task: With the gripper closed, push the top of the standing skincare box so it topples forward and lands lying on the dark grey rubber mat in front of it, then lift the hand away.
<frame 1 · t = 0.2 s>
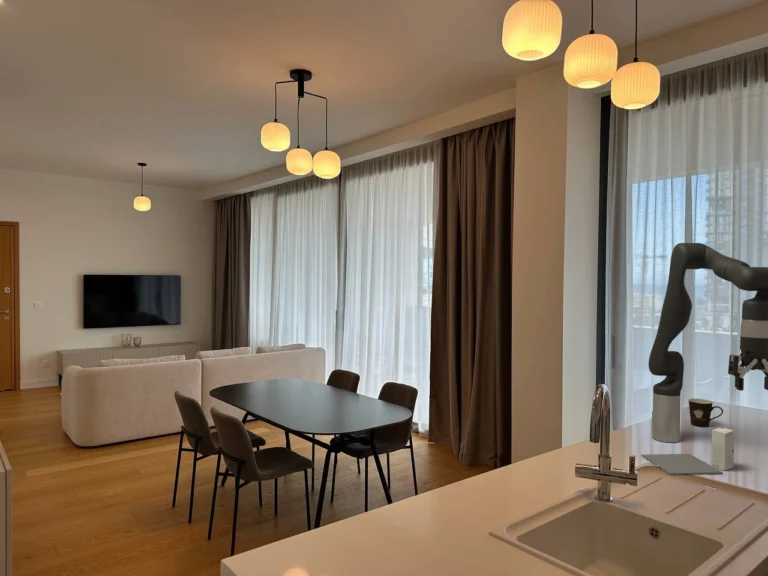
hand: (753, 389, 160), 28 cm above the worktop, tool pointing down, fingers open, 8 cm apart
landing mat: (680, 464, 178), on the worktop
coffee mug: (703, 426, 222), on the worktop
skincare box: (722, 467, 176), on the worktop
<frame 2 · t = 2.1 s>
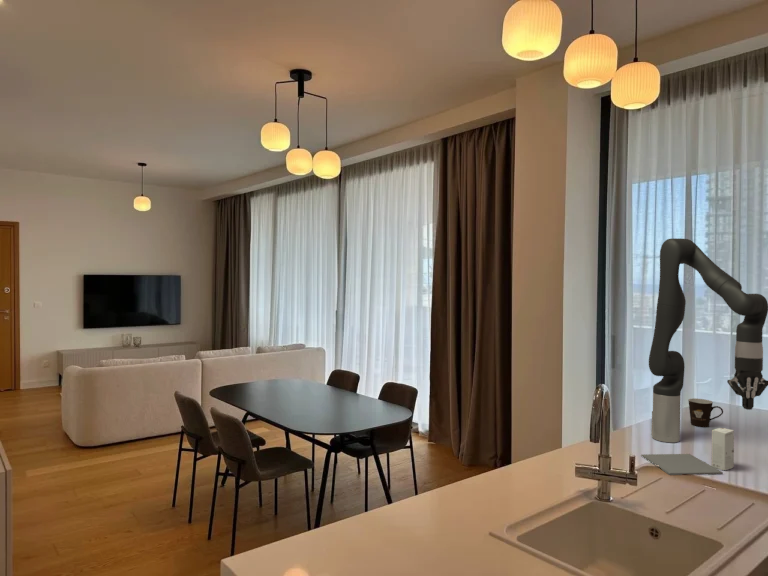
hand: (747, 408, 175), 19 cm above the worktop, tool pointing down, fingers closed
nothing on the worktop moved.
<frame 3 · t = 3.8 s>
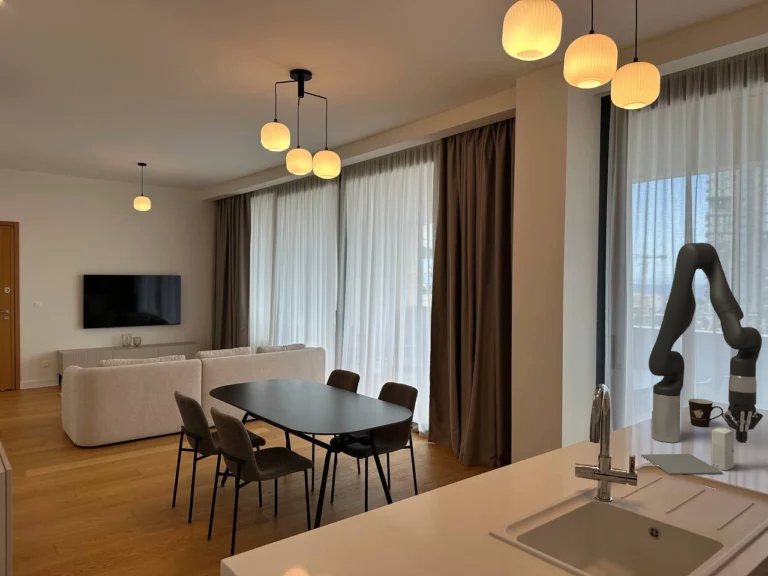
hand: (741, 442, 176), 8 cm above the worktop, tool pointing down, fingers closed
skincare box: (722, 467, 176), on the worktop, touching gripper
everything else where it was.
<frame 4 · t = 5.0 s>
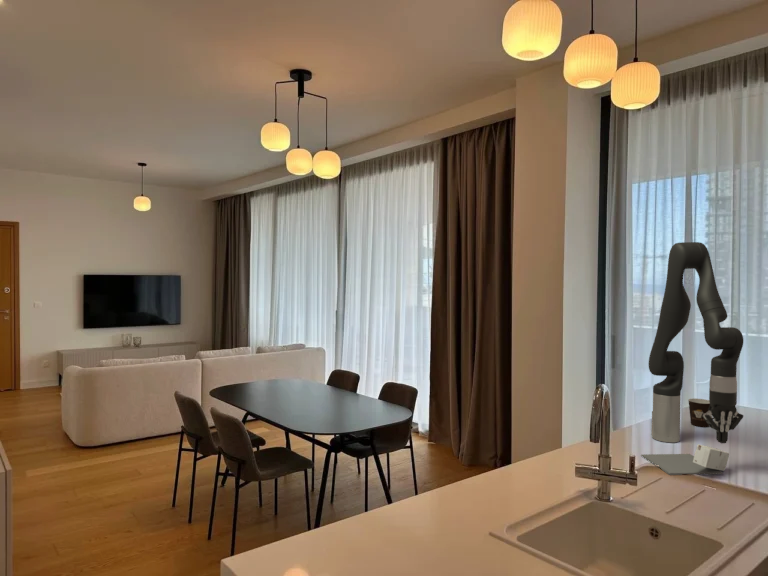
hand: (721, 442, 175), 8 cm above the worktop, tool pointing down, fingers closed
skincare box: (720, 459, 174), point 3 cm above the worktop
everything else where it was.
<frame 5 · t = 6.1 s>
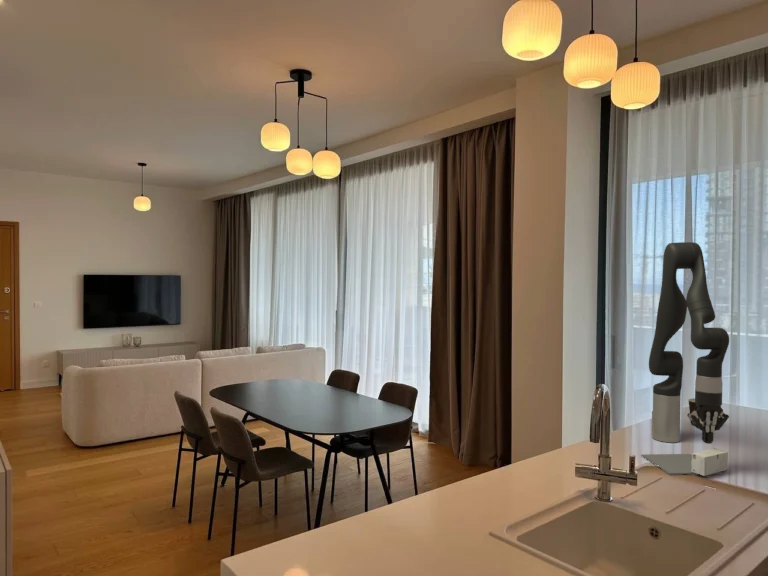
hand: (707, 442, 175), 8 cm above the worktop, tool pointing down, fingers closed
skincare box: (721, 458, 173), point 4 cm above the worktop, touching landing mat
everything else where it was.
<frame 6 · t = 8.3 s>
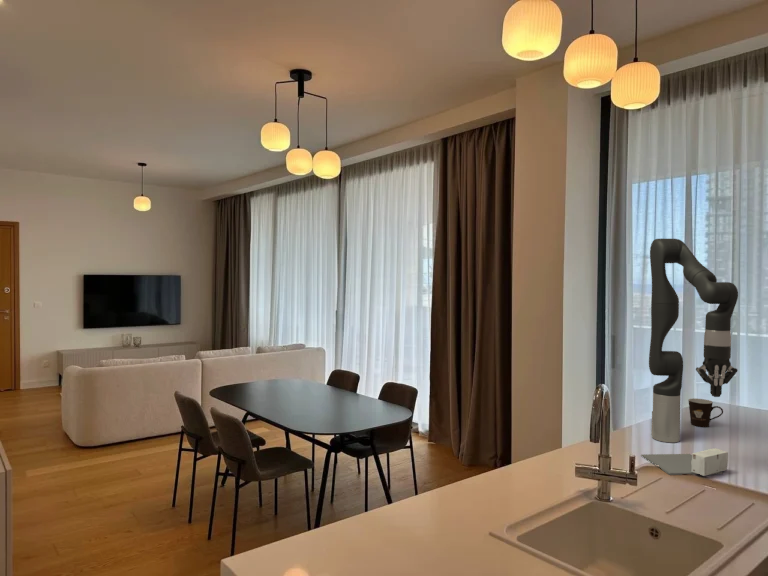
hand: (715, 396, 177), 23 cm above the worktop, tool pointing down, fingers closed
nothing on the worktop moved.
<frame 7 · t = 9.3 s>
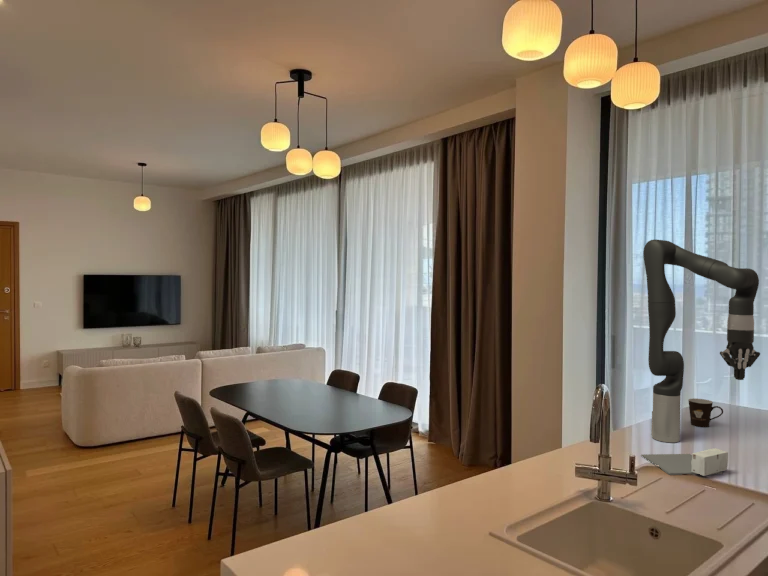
hand: (739, 379, 182), 27 cm above the worktop, tool pointing down, fingers closed
nothing on the worktop moved.
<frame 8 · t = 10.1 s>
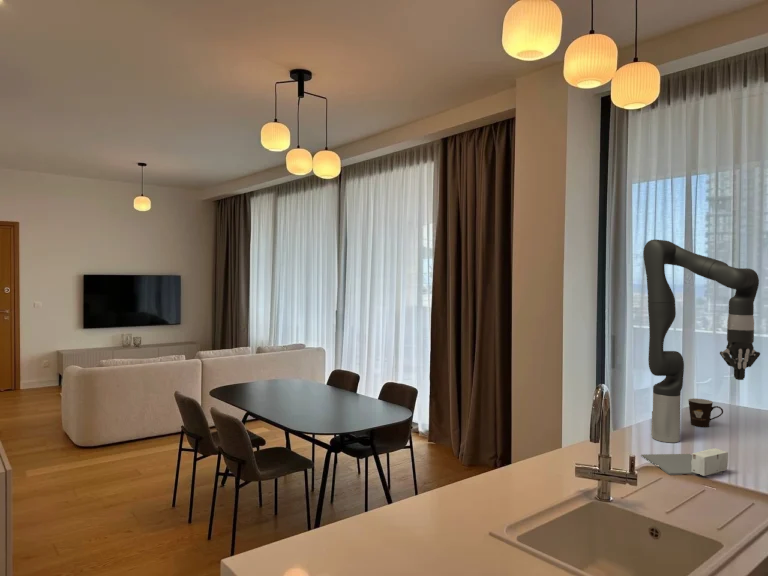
hand: (739, 379, 182), 27 cm above the worktop, tool pointing down, fingers closed
nothing on the worktop moved.
at the end: skincare box tilted 91°; skincare box touching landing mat; skincare box moved 4.7 cm from its start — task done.
